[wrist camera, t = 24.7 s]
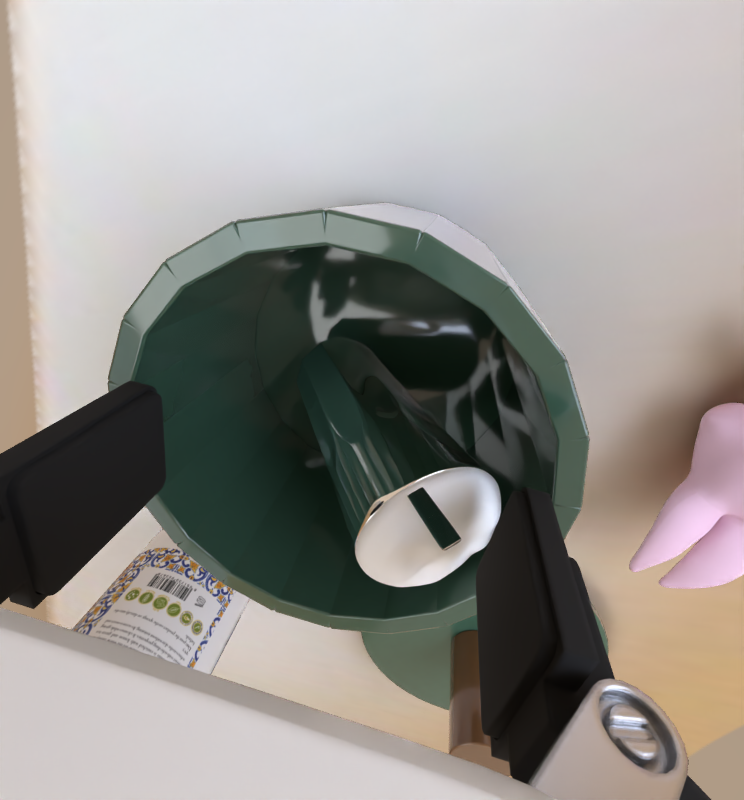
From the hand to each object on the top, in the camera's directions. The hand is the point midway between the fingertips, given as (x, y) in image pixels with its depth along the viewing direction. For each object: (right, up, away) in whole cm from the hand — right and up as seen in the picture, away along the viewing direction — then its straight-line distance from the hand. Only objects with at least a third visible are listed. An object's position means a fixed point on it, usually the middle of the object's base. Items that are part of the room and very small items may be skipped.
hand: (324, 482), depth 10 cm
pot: (+2, +4, +8) cm, 9 cm away
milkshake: (-1, +4, +7) cm, 8 cm away
